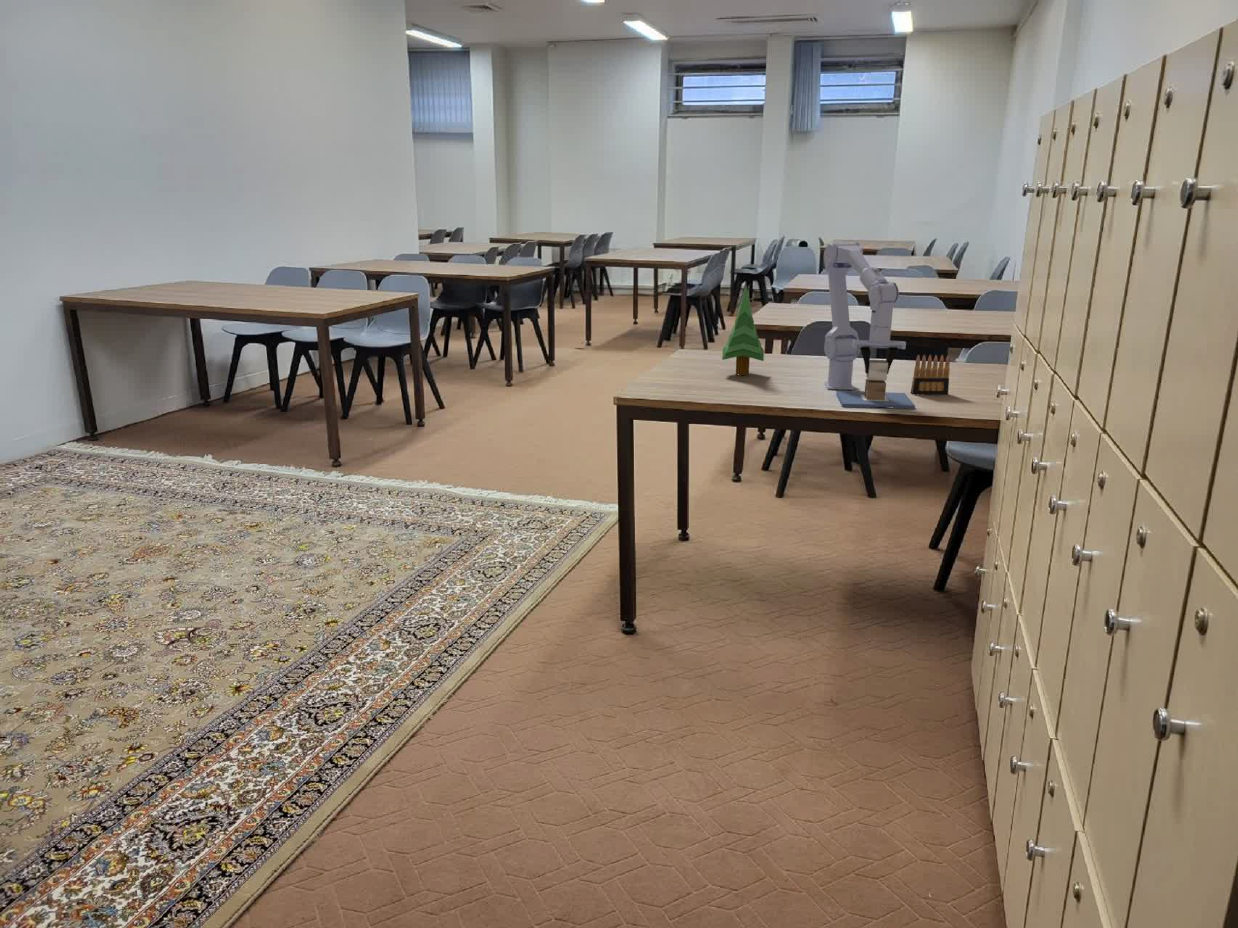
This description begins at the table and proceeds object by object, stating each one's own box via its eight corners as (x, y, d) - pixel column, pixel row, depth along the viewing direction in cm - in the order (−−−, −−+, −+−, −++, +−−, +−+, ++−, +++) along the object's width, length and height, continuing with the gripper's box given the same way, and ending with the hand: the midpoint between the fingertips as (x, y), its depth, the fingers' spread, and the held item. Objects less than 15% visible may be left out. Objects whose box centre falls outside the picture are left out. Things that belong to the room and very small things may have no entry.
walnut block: (864, 395, 259) (865, 379, 257) (881, 396, 258) (883, 379, 256) (866, 399, 254) (868, 382, 252) (884, 400, 253) (886, 383, 252)
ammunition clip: (912, 394, 265) (916, 355, 261) (910, 393, 267) (914, 354, 263) (948, 394, 264) (952, 355, 261) (946, 393, 266) (950, 354, 263)
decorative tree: (773, 376, 290) (778, 284, 281) (731, 380, 284) (734, 286, 275) (752, 369, 302) (756, 280, 293) (711, 372, 296) (714, 282, 287)
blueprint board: (836, 394, 265) (836, 390, 265) (904, 396, 263) (904, 392, 262) (842, 406, 250) (842, 403, 250) (914, 409, 248) (915, 405, 247)
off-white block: (866, 376, 257) (867, 359, 255) (883, 376, 256) (885, 360, 255) (868, 380, 252) (870, 362, 251) (886, 380, 252) (888, 363, 250)
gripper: (856, 327, 247) (852, 375, 251) (909, 328, 245) (904, 376, 249) (853, 324, 253) (849, 370, 258) (905, 324, 252) (900, 371, 256)
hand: (876, 373), depth 254 cm, fingers closed on off-white block, 5 cm apart
